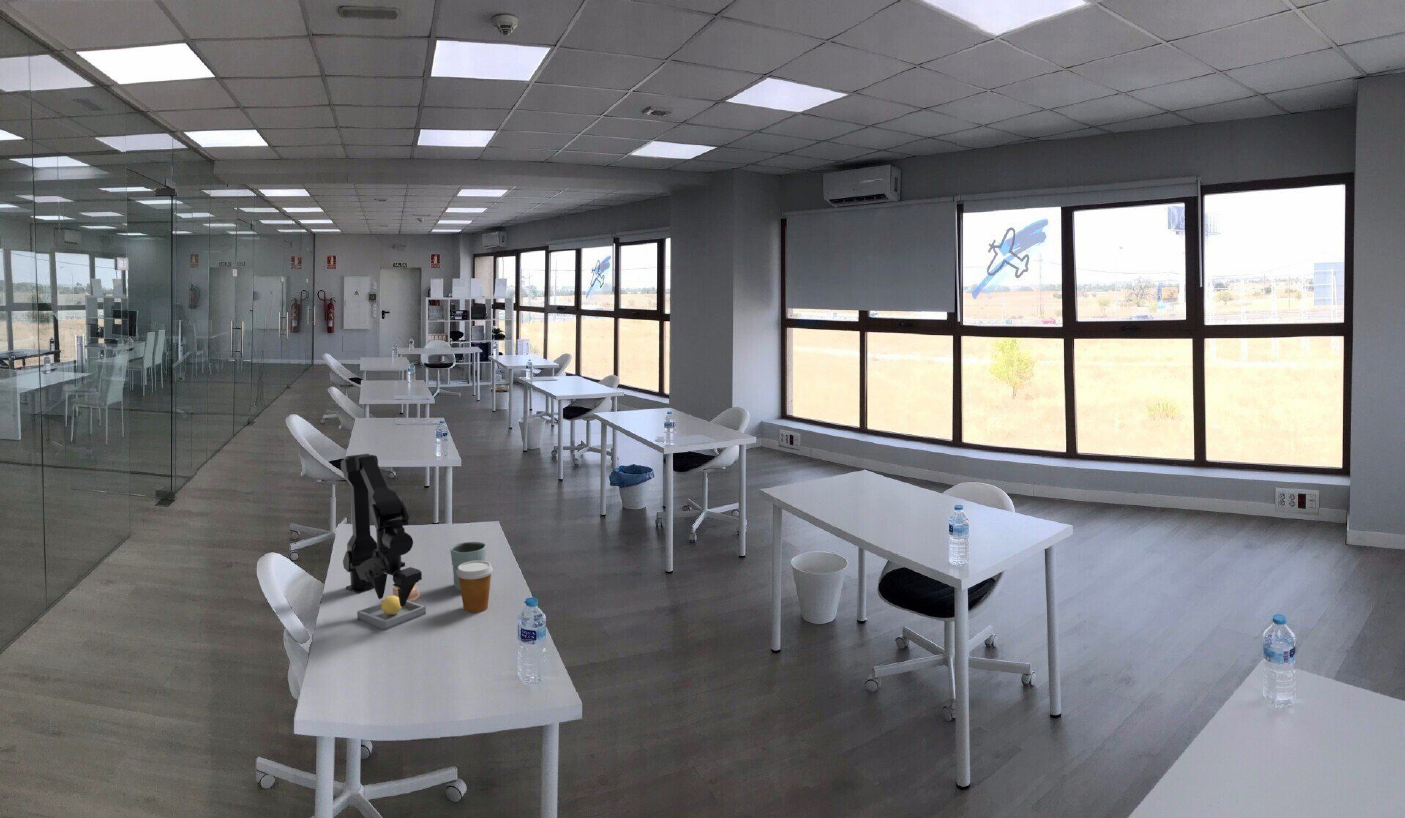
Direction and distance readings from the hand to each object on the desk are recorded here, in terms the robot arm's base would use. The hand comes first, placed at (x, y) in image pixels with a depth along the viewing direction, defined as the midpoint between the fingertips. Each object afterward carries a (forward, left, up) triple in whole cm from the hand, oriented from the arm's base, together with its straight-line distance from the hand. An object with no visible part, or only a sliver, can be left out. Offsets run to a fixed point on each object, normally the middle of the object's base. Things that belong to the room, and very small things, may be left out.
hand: (391, 602), depth 196 cm
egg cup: (-8, +10, -4) cm, 13 cm away
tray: (0, 0, -4) cm, 4 cm away
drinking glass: (0, +26, -4) cm, 27 cm away
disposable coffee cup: (+14, +16, -4) cm, 22 cm away
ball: (0, 0, -3) cm, 3 cm away
